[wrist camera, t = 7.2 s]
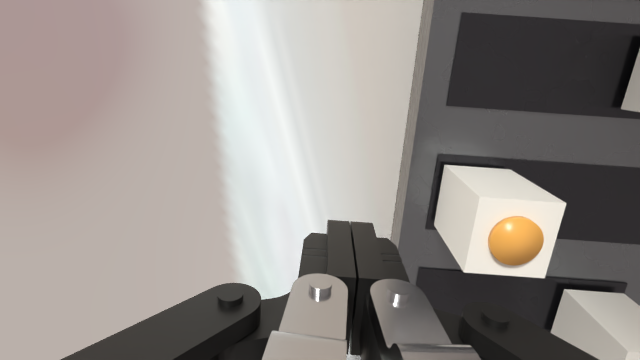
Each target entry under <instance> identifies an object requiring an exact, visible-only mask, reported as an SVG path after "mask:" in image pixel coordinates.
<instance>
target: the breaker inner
mask: <svg viewBox="0 0 640 360" xmlns="http://www.w3.org/2000/svg"><path fill="white" fill-rule="evenodd" d="M621 109H623V110H629V111H635V112H640V49H639V52H638V56H637V59H636V62H635V65H634V68H633V71H632V75H631V78H630V81H629V84H628V87H627V91H626V94H625V97H624V100H623V103H622V106H621Z"/></svg>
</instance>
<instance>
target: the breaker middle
mask: <svg viewBox="0 0 640 360" xmlns="http://www.w3.org/2000/svg"><path fill="white" fill-rule="evenodd" d="M565 207H566V203H565V202H564V201H562V200H560V199H559V198H557V197H555V196H554V195H552V194H550V193H549V192H547V191H545V190H544V189H542V188H540V187H539V186H537V185H535V184H534V183H532V182H530V181H529V180H527V179H525V178H524V177H522V176H520V175H519V174H517V173H515V172H514V171H512V170H510V169H497V168H483V167H469V166H455V165H444V170H443V176H442V181H441V187H440V193H439V198H438V204H437V210H436V216H435V221H434V226H435V227H436V229H437V231H438V232H439V234H440V235H441V237H442V239H443V240H444V242H445V243H446V245H447V246H448V248H449V250H450V251H451V253H452V254H453V256H454V258H455V259H456V261H457V262H458V264H459V266H460V267H461V269H462V270H463V272H465V273H478V274H492V275H506V276H519V277H533V278H545V275H546V272H547V269H548V265H549V262H550V258H551V255H552V251H553V248H554V245H555V241H556V238H557V234H558V231H559V227H560V224H561V221H562V217H563V214H564V210H565Z"/></svg>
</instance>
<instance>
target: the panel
mask: <svg viewBox="0 0 640 360" xmlns="http://www.w3.org/2000/svg"><path fill="white" fill-rule="evenodd" d="M639 49H640V0H424V2H423V9H422V16H421V23H420V31H419V38H418V45H417V52H416V60H415V67H414V74H413V81H412V89H411V96H410V103H409V110H408V118H407V125H406V132H405V139H404V146H403V154H402V161H401V168H400V175H399V183H398V190H397V197H396V204H395V212H394V219H393V226H392V233H391V242H392V243H394V244H395V245H396V246H397V249H398V251H399V254H400V257H401V259H402V263H403V265H404V267H405V270H406V273H407V275H408V278H409V281H410V283H411V284H413V285H415V286H417V287H418V288H420V289H421V290H422V291H423V292H424V294H425V295H426V297H427V299H428V301H429V302H430V304H431V306H432V307H433V308H436V309H438V310H441V311H445V312H448V313H452V314H456V315H459V316H462V311H463V308H464V307H465V306H466V305H467V304H469V303H472V302H487V303H492V304H496V305H499V306H502V307H504V308H506V309H508V310H510V311H512V312H514V313H516V314H517V315H519V316H521V317H523V318H525V319H526V320H528V321H530V322H532V323H534V324H535V325H537V326H539V327H541V328H543V329H545V330H546V331H548V332H550V333H551V330H552V326H553V323H554V320H555V317H556V314H557V310H558V307H559V304H560V301H561V298H562V294H563V291H564V289H569V290H583V291H597V292H610V293H624V294H625V295H626V296H628V297H629V298H630V299H631V300H633V301H634V302H635V303H637V304H638V305H639V306H640V112H635V111H629V110H623V109H621V106H622V103H623V100H624V97H625V94H626V91H627V87H628V84H629V81H630V78H631V75H632V71H633V68H634V65H635V62H636V59H637V56H638V52H639ZM444 165H455V166H469V167H483V168H497V169H510V170H512V171H514V172H515V173H517V174H519V175H520V176H522V177H524V178H525V179H527V180H529V181H530V182H532V183H534V184H535V185H537V186H539V187H540V188H542V189H544V190H545V191H547V192H549V193H550V194H552V195H554V196H555V197H557V198H559V199H560V200H562V201H564V202H565V203H566V207H565V210H564V214H563V217H562V221H561V224H560V227H559V231H558V234H557V238H556V241H555V245H554V248H553V251H552V255H551V258H550V262H549V265H548V269H547V272H546V275H545V278H533V277H519V276H506V275H492V274H478V273H465V272H463V270H462V269H461V267H460V266H459V264H458V262H457V261H456V259H455V258H454V256H453V254H452V253H451V251H450V250H449V248H448V246H447V245H446V243H445V242H444V240H443V239H442V237H441V235H440V234H439V232H438V231H437V229H436V227H435V226H434V221H435V216H436V210H437V204H438V198H439V193H440V187H441V181H442V176H443V170H444Z"/></svg>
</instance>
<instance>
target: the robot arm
mask: <svg viewBox="0 0 640 360" xmlns="http://www.w3.org/2000/svg"><path fill="white" fill-rule="evenodd" d="M349 341H350V355H361V360H599V359H597V358H595V357H594V356H592V355H590V354H588V353H586V352H585V351H583V350H581V349H579V348H577V347H575V346H574V345H572V344H570V343H568V342H566V341H565V340H563V339H561V338H559V337H557V336H555V335H554V334H552V333H550V332H548V331H546V330H545V329H543V328H541V327H539V326H537V325H535V324H534V323H532V322H530V321H528V320H526V319H525V318H523V317H521V316H519V315H517V314H516V313H514V312H512V311H510V310H508V309H506V308H504V307H502V306H499V305H496V304H492V303H487V302H472V303H469V304H467V305H466V306H465V307H464V308H463V311H462V316H459V315H456V314H452V313H448V312H445V311H441V310H438V309H436V308H433V307H432V306H431V304H430V302H429V301H428V299H427V297H426V295H425V294H424V292H423V291H422V290H421V289H420V288H418V287H417V286H415V285H413V284H411V283H410V281H409V278H408V275H407V273H406V270H405V267H404V265H403V263H402V259H401V257H400V254H399V251H398V249H397V246H396V245H395V244H394V243H392V242H391V241H390V240H389V239H388V238H376V234H375V230H374V227H373V223H365V222H350V223H349V221H336V220H328V223H327V234H320V233H311V234H310V235H308V236H307V237H306V238H305V239H304V243H303V250H302V256H301V263H300V270H299V276H298V279H297V280H296V281H295V282H294V283H293V285H292V289H291V292H289V293H288V294H286V295H283V296H281V297H277V298H272V299H265V300H261V296H260V294H259V292H258V291H257V290H256V289H255V288H253V287H251V286H249V285H246V284H241V283H227V284H222V285H219V286H216V287H213V288H211V289H209V290H207V291H205V292H202V293H200V294H198V295H196V296H194V297H192V298H190V299H188V300H186V301H183V302H181V303H179V304H177V305H175V306H173V307H171V308H169V309H167V310H164V311H162V312H160V313H158V314H156V315H154V316H152V317H150V318H148V319H146V320H144V321H141V322H139V323H137V324H135V325H133V326H131V327H129V328H126V329H124V330H122V331H120V332H118V333H116V334H114V335H112V336H110V337H107V338H106V339H103V340H101V341H99V342H97V343H95V344H93V345H91V346H88V347H86V348H85V349H82V350H80V351H78V352H76V353H74V354H72V355H70V356H67V357H65V358H63V359H61V360H346V354H348V349H349Z"/></svg>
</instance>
